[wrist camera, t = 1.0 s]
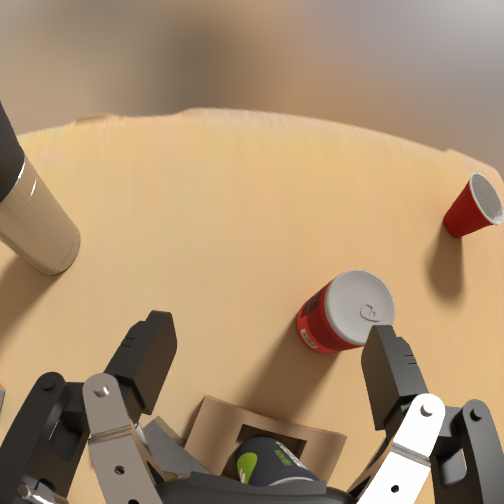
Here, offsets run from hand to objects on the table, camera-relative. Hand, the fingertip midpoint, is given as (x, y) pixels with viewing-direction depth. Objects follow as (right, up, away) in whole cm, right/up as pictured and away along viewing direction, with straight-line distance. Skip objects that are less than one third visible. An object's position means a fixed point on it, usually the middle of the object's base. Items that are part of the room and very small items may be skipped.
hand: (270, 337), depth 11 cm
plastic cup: (+41, +8, +36) cm, 55 cm away
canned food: (+9, -6, +25) cm, 27 cm away
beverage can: (0, -22, +17) cm, 27 cm away
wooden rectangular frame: (0, -22, +17) cm, 27 cm away
